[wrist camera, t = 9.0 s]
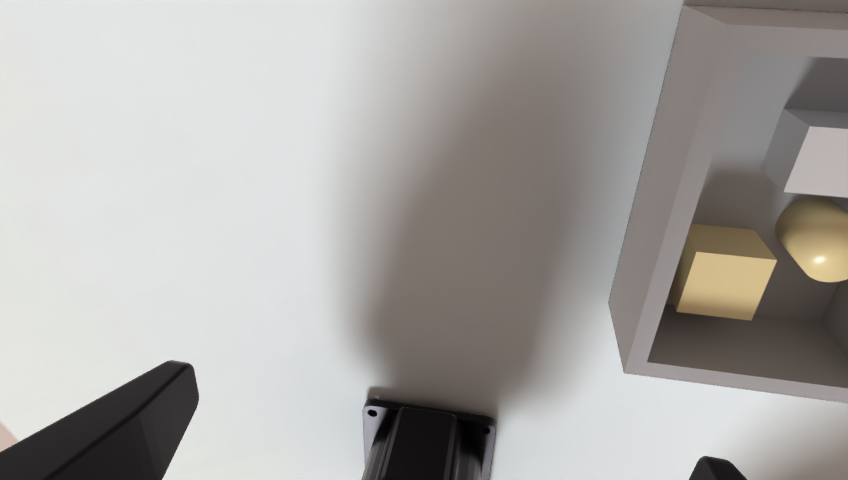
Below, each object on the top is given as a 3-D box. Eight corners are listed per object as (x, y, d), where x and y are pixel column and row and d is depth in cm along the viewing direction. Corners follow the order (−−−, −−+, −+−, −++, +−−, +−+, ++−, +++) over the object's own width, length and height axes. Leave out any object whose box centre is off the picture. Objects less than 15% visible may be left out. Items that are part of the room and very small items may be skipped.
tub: (824, 328, 20) (884, 408, 17) (608, 302, 21) (624, 372, 18) (985, 18, 15) (1124, 44, 11) (682, 4, 16) (726, 24, 12)
